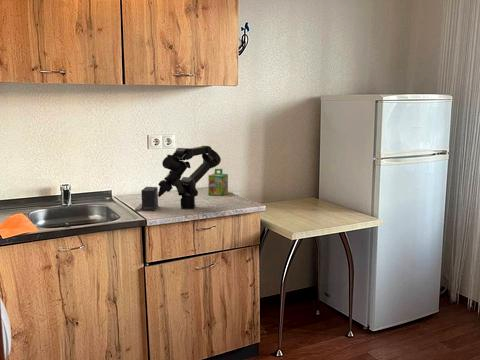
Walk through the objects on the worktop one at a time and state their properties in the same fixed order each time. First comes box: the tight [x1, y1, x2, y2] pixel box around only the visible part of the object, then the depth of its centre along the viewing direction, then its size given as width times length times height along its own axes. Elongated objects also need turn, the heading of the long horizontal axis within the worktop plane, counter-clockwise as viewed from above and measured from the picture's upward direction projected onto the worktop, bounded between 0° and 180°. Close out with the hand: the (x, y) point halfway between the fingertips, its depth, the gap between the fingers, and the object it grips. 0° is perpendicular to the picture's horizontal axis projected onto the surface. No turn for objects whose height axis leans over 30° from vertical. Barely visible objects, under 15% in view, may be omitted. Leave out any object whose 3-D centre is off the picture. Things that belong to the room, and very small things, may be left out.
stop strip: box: [134, 203, 142, 212], centre depth 235 cm, size 2×12×1 cm, turn 178°
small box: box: [140, 186, 159, 212], centre depth 234 cm, size 11×6×10 cm, turn 179°
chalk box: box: [207, 168, 229, 197], centre depth 269 cm, size 9×9×15 cm
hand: (158, 196), depth 232 cm, fingers closed
